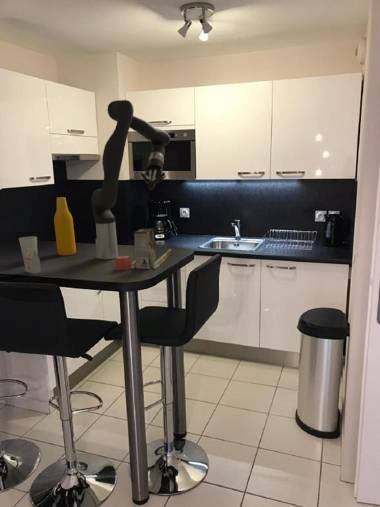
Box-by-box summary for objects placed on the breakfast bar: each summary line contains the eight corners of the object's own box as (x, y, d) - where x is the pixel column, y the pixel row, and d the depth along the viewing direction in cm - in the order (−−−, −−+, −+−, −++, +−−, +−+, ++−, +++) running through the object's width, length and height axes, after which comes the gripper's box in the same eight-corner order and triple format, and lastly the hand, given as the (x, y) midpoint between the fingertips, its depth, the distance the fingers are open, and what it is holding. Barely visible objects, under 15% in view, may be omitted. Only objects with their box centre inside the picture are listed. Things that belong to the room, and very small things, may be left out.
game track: (131, 268, 178) (130, 264, 178) (150, 253, 207) (150, 249, 206) (155, 268, 176) (155, 264, 176) (172, 253, 205) (171, 249, 204)
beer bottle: (74, 250, 220) (68, 196, 213) (77, 254, 211) (71, 197, 205) (56, 253, 216) (50, 197, 209) (59, 256, 208) (52, 198, 201)
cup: (43, 260, 200) (40, 236, 197) (32, 264, 192) (29, 239, 190) (29, 260, 202) (26, 236, 200) (18, 264, 195) (15, 239, 192)
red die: (116, 269, 177) (115, 257, 176) (120, 266, 182) (119, 255, 181) (127, 270, 176) (126, 257, 175) (130, 267, 181) (129, 255, 180)
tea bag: (33, 269, 183) (30, 247, 181) (41, 271, 179) (38, 249, 177) (25, 271, 181) (22, 249, 178) (33, 273, 176) (30, 251, 174)
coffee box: (143, 263, 187) (140, 228, 183) (156, 263, 185) (154, 228, 182) (135, 268, 178) (133, 232, 174) (149, 269, 176) (147, 232, 173)
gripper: (141, 158, 209) (135, 184, 200) (166, 157, 206) (162, 183, 197) (145, 168, 215) (139, 194, 206) (169, 167, 212) (165, 193, 203)
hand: (150, 188), depth 201 cm, fingers closed
